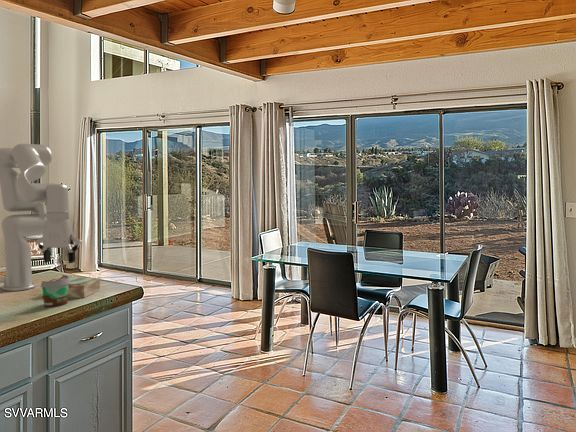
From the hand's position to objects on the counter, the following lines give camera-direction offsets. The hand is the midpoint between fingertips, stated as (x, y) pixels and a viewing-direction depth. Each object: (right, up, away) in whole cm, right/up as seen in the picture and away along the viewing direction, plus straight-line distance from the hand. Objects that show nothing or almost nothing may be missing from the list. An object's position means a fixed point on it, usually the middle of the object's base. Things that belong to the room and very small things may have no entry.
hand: (59, 262), depth 174 cm
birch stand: (-3, -15, +18) cm, 23 cm away
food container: (-1, -16, +2) cm, 16 cm away
